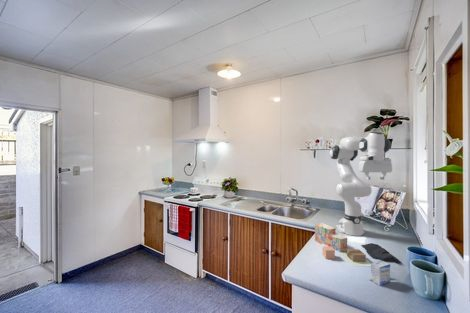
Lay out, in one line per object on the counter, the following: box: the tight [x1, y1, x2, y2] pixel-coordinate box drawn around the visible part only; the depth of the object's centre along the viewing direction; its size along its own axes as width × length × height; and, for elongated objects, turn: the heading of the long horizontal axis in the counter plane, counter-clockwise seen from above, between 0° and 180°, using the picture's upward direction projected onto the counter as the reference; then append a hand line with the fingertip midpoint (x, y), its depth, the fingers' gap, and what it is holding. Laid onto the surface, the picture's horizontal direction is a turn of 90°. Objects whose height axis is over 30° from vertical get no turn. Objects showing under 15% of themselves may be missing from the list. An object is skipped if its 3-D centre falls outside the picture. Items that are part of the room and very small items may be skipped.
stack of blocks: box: [314, 222, 348, 253], centre depth 145 cm, size 21×6×12 cm, turn 24°
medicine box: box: [370, 260, 391, 286], centre depth 106 cm, size 8×4×9 cm, turn 114°
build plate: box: [338, 251, 373, 267], centre depth 126 cm, size 16×12×1 cm
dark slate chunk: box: [360, 242, 401, 264], centre depth 134 cm, size 15×22×5 cm
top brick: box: [322, 246, 336, 260], centre depth 128 cm, size 5×5×6 cm
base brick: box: [346, 248, 367, 262], centre depth 126 cm, size 7×7×4 cm
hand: (375, 179), depth 137 cm, fingers open, 8 cm apart
